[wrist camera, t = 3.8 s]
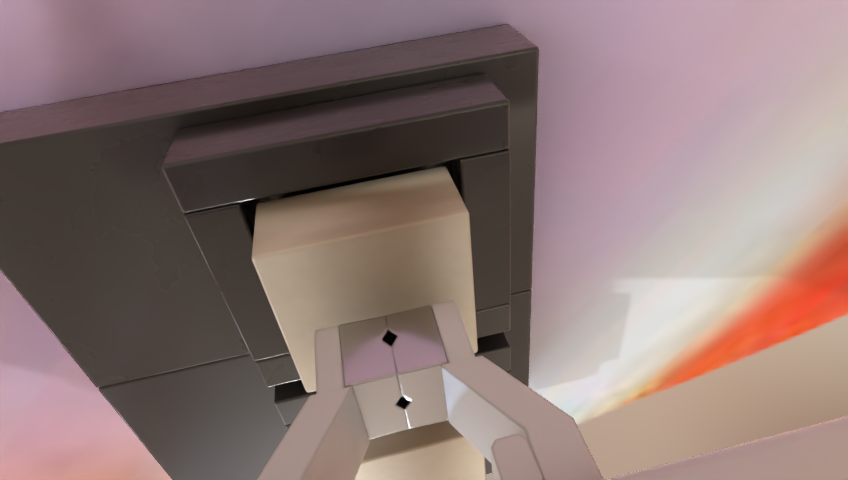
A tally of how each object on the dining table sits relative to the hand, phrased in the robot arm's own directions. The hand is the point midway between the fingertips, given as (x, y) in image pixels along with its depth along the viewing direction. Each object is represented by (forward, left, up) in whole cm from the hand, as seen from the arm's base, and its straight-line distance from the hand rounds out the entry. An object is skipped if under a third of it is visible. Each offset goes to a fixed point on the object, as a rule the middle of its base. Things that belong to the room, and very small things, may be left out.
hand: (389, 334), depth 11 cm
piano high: (-2, 0, -6) cm, 7 cm away
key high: (0, 0, -3) cm, 3 cm away
